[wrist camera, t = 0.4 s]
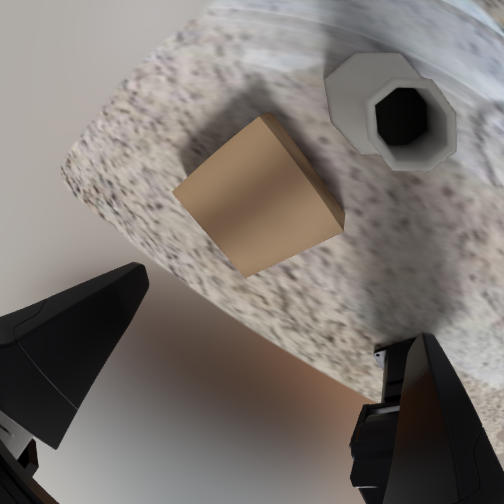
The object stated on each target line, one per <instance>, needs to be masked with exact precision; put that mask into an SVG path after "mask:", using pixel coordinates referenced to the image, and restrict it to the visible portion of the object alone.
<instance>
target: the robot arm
mask: <svg viewBox="0 0 504 504" xmlns="http://www.w3.org/2000/svg"><path fill="white" fill-rule="evenodd" d="M148 288H149V279H148V276H147V272H146V268H145V266H144V265H143V264H140V263H137V262H132V263H129V264H127V265H124V266H122V267H119V268H117V269H114V270H112V271H110V272H107V273H105V274H102V275H100V276H98V277H95V278H93V279H90V280H88V281H86V282H84V283H81V284H79V285H76V286H74V287H72V288H69V289H67V290H65V291H62V292H60V293H58V294H55V295H53V296H51V297H49V298H46V299H44V300H42V301H40V302H37V303H35V304H32V305H30V306H28V307H25V308H23V309H20V310H17V311H15V312H12V313H9V314H7V315H4V316H1V317H0V504H59V503H58V502H57V501H56V500H55V499H54V498H53V497H51V496H50V495H49V494H48V493H47V492H46V491H45V490H44V489H43V488H42V487H41V486H40V485H39V484H38V483H37V482H36V481H35V480H34V479H33V478H32V476H33V475H34V473H35V472H36V470H37V469H38V467H39V465H38V459H37V450H36V441H35V440H34V439H33V436H35V437H36V438H38V439H39V440H41V441H42V442H44V443H45V444H47V445H49V446H50V447H52V448H53V449H55V450H56V449H57V448H58V447H59V445H60V443H61V441H62V439H63V437H64V435H65V433H66V431H67V429H68V428H69V426H70V424H71V422H72V420H73V418H74V416H75V414H76V413H77V411H78V409H79V407H80V405H81V404H82V402H83V400H84V398H85V396H86V395H87V393H88V391H89V390H90V388H91V386H92V384H93V383H94V381H95V379H96V378H97V376H98V374H99V372H100V371H101V369H102V368H103V366H104V364H105V363H106V361H107V359H108V358H109V356H110V354H111V353H112V351H113V349H114V348H115V346H116V345H117V343H118V342H119V340H120V339H121V337H122V335H123V334H124V332H125V331H126V329H127V328H128V326H129V324H130V322H131V321H132V319H133V317H134V315H135V313H136V311H137V309H138V308H139V305H140V304H141V302H142V300H143V298H144V296H145V294H146V292H147V291H148ZM373 356H374V358H375V359H376V361H377V362H378V364H379V365H380V366H381V368H382V369H383V371H384V372H383V387H382V398H381V403H377V404H370V405H369V404H364V405H363V407H362V410H361V412H360V415H359V418H358V421H357V424H356V427H355V430H354V432H353V435H352V438H351V442H350V445H349V447H350V448H351V455H352V459H353V461H354V462H353V467H352V471H351V475H350V480H351V482H352V485H353V487H354V488H355V487H356V488H358V489H359V491H360V493H361V494H362V497H363V499H364V501H365V503H366V504H504V471H503V469H502V467H501V465H500V463H499V460H498V458H497V456H496V454H495V452H494V450H493V448H492V445H491V443H490V441H489V439H488V436H487V434H486V432H485V429H484V427H482V423H481V421H480V419H479V416H478V414H477V412H476V410H475V408H474V406H473V404H472V402H471V400H470V398H469V396H468V394H467V392H466V390H465V388H464V386H463V385H462V383H461V381H460V379H459V377H458V375H457V373H456V372H455V370H454V368H453V366H452V365H451V363H450V361H449V359H448V358H447V356H446V354H445V352H444V351H443V349H442V347H441V346H440V344H439V343H438V341H437V339H436V338H435V336H434V335H433V334H430V333H424V332H422V333H420V334H419V335H418V337H416V338H413V339H410V340H407V341H404V342H401V343H398V344H395V345H391V346H388V347H385V348H381V349H378V350H375V351H374V354H373Z"/></svg>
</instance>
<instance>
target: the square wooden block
mask: <svg viewBox="0 0 504 504" xmlns="http://www.w3.org/2000/svg"><path fill="white" fill-rule="evenodd" d="M172 193H173V194H174V196H175V197H176V198H177V199H178V200H179V201H180V203H181V204H182V205H183V206H184V207H185V209H186V210H187V211H188V212H189V213H190V215H191V216H192V217H193V218H194V219H195V220H196V222H197V223H198V224H199V225H200V226H201V227H202V229H203V230H204V231H205V232H206V233H207V234H208V236H209V237H210V238H211V239H212V240H213V241H214V243H215V244H216V245H217V246H218V247H219V248H220V250H221V251H222V252H223V253H224V254H225V255H226V256H227V258H228V259H229V260H230V261H231V262H232V263H233V264H234V266H235V267H236V268H237V269H238V270H239V271H240V272H241V274H242V275H243V276H244V277H245V278H247V277H249V276H251V275H253V274H256V273H258V272H260V271H262V270H264V269H266V268H268V267H271V266H273V265H275V264H277V263H279V262H281V261H283V260H285V259H288V258H290V257H292V256H294V255H296V254H298V253H300V252H302V251H304V250H306V249H308V248H311V247H313V246H315V245H317V244H319V243H321V242H323V241H325V240H327V239H329V238H331V237H333V236H335V235H337V234H339V233H341V232H343V231H344V221H345V213H344V212H343V210H342V208H341V207H340V205H339V204H338V202H337V201H336V199H335V198H334V196H333V195H332V193H331V192H330V190H329V189H328V187H327V186H326V185H325V183H324V182H323V180H322V179H321V177H320V176H319V175H318V173H317V172H316V170H315V169H314V168H313V166H312V165H311V163H310V162H309V161H308V159H307V158H306V157H305V155H304V154H303V152H302V151H301V150H300V148H299V147H298V146H297V144H296V143H295V142H294V141H293V139H292V138H291V137H290V135H289V134H288V133H287V132H286V130H285V129H284V128H283V126H282V125H281V124H280V123H279V121H278V120H277V119H276V118H275V116H274V115H273V114H272V113H271V112H268V113H266V114H263V115H261V116H259V117H257V118H256V119H255V120H254V121H252V122H251V123H250V124H248V125H247V126H246V127H245V128H244V129H242V130H241V131H240V132H239V133H237V134H236V135H235V136H234V137H233V138H231V139H230V140H229V141H228V142H227V143H225V144H224V145H223V146H222V147H221V148H220V149H218V150H217V151H216V152H215V153H214V154H213V155H211V156H210V157H209V158H208V159H207V160H206V161H205V162H204V163H202V164H201V165H200V166H199V167H198V168H197V169H196V170H195V171H194V172H193V173H191V174H190V175H189V176H188V177H187V178H186V179H185V180H184V181H183V182H182V183H181V184H180V185H179V186H178V187H176V188H175V189H174V190H173V191H172Z"/></svg>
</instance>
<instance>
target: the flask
mask: <svg viewBox="0 0 504 504" xmlns="http://www.w3.org/2000/svg"><path fill="white" fill-rule="evenodd" d="M324 82H325V88H326V94H327V100H328V106H329V113H330V120H331V123H332V124H333V125H334V126H335V127H336V128H337V129H338V130H339V131H340V132H341V133H342V134H343V136H344V137H345V138H346V139H347V140H348V141H349V142H350V143H351V144H352V146H353V147H354V148H355V149H356V150H357V151H358V152H359V154H380V155H381V156H382V158H383V159H384V160H385V161H386V163H387V164H388V165H389V167H390V168H391V169H392V171H417V172H429V171H431V170H432V169H434V168H435V167H436V166H438V165H439V164H440V163H442V162H443V161H444V160H446V159H447V158H448V157H450V156H451V155H452V154H454V153H455V152H456V147H457V134H456V112H455V111H454V109H453V108H452V106H451V105H450V103H449V102H448V101H447V99H446V98H445V96H444V95H443V94H442V92H441V91H440V90H439V88H438V87H437V86H436V84H435V83H434V82H433V80H432V79H426V78H421V77H420V75H419V74H418V73H417V72H416V71H415V70H414V68H413V67H412V66H411V65H410V64H409V63H408V61H407V60H406V59H405V58H404V57H403V56H402V55H401V54H400V53H391V52H358V53H354V54H353V55H352V56H351V57H350V58H348V59H347V60H346V61H345V62H344V63H342V64H341V65H340V66H339V67H338V68H337V69H336V70H334V71H333V72H332V73H331V74H330V75H329V76H328V77H327V78H325V79H324Z"/></svg>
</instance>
